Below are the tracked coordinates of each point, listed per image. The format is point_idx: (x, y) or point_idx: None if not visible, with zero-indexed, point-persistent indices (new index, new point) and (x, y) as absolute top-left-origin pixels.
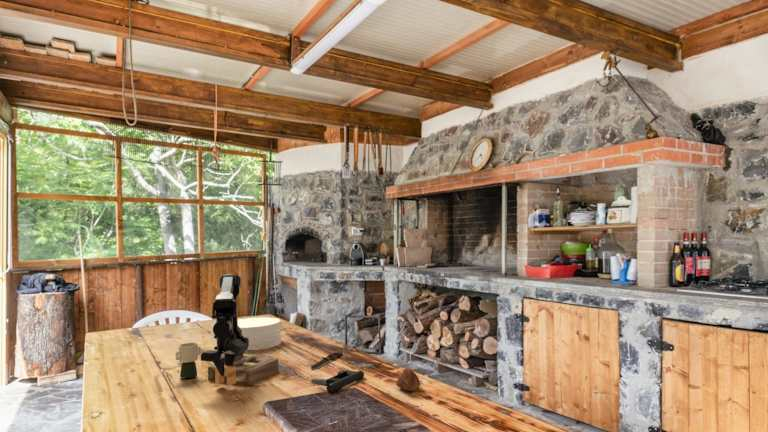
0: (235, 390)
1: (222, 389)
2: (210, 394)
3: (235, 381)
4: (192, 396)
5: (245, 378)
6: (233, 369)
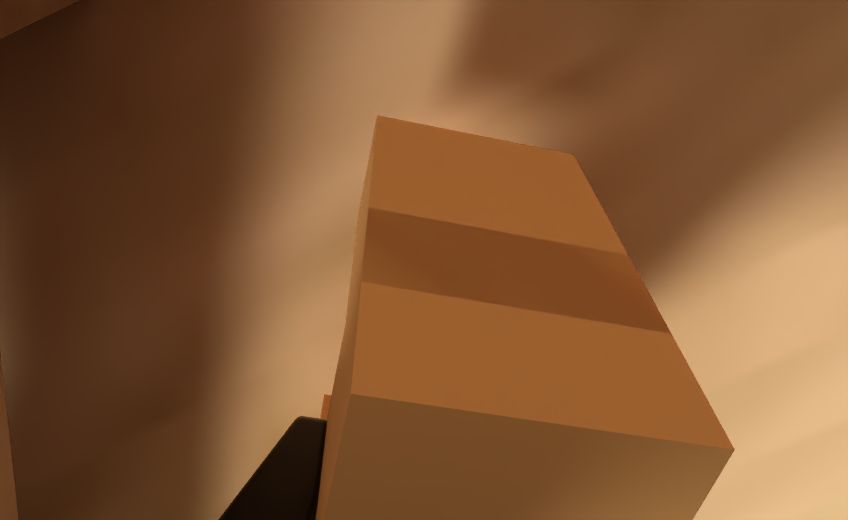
0: (540, 9)
1: None
2: (740, 348)
3: (396, 136)
4: (791, 516)
5: (38, 14)
6: (504, 353)
